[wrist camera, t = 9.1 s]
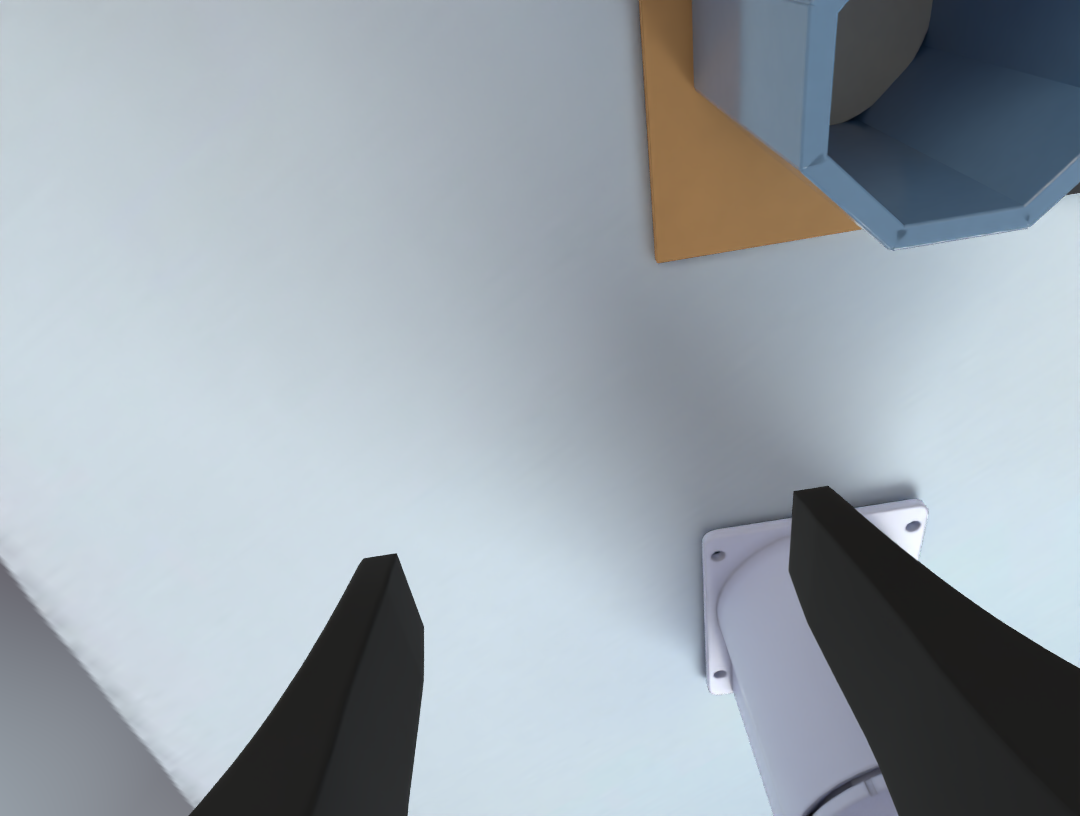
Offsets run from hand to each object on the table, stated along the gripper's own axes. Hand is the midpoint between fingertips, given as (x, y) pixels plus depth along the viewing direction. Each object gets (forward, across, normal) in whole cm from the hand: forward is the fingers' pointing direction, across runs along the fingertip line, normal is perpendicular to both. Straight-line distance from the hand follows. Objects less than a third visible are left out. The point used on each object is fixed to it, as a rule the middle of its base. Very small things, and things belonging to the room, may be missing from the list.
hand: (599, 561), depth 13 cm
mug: (+9, -7, -8) cm, 14 cm away
